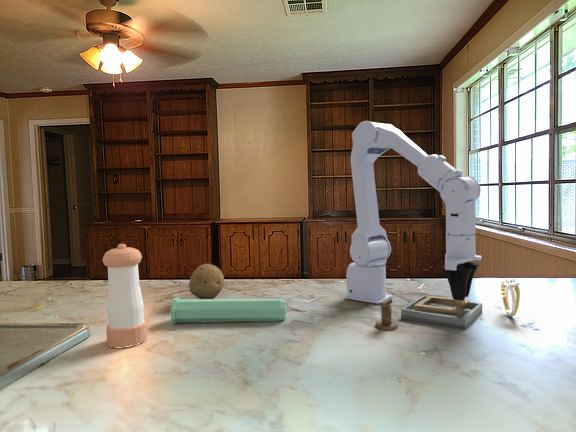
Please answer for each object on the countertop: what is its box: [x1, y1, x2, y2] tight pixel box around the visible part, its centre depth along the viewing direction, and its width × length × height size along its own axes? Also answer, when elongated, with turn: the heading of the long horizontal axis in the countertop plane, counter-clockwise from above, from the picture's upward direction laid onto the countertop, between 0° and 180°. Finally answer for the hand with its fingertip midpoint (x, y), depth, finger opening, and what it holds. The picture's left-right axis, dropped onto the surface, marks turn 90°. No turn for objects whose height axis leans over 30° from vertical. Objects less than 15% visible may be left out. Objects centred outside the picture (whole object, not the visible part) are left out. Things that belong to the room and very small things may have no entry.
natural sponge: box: [188, 263, 225, 299], centre depth 105 cm, size 9×9×10 cm
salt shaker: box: [102, 243, 148, 347], centre depth 79 cm, size 7×7×19 cm
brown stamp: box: [375, 298, 399, 331], centre depth 83 cm, size 4×4×5 cm
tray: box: [400, 295, 483, 331], centre depth 89 cm, size 13×13×2 cm
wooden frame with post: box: [414, 295, 471, 316], centre depth 89 cm, size 9×9×5 cm
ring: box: [500, 278, 521, 317], centre depth 87 cm, size 7×3×8 cm, turn 165°
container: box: [170, 296, 288, 324], centre depth 90 cm, size 6×6×25 cm
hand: (460, 298), depth 87 cm, fingers closed on wooden frame with post, 2 cm apart
